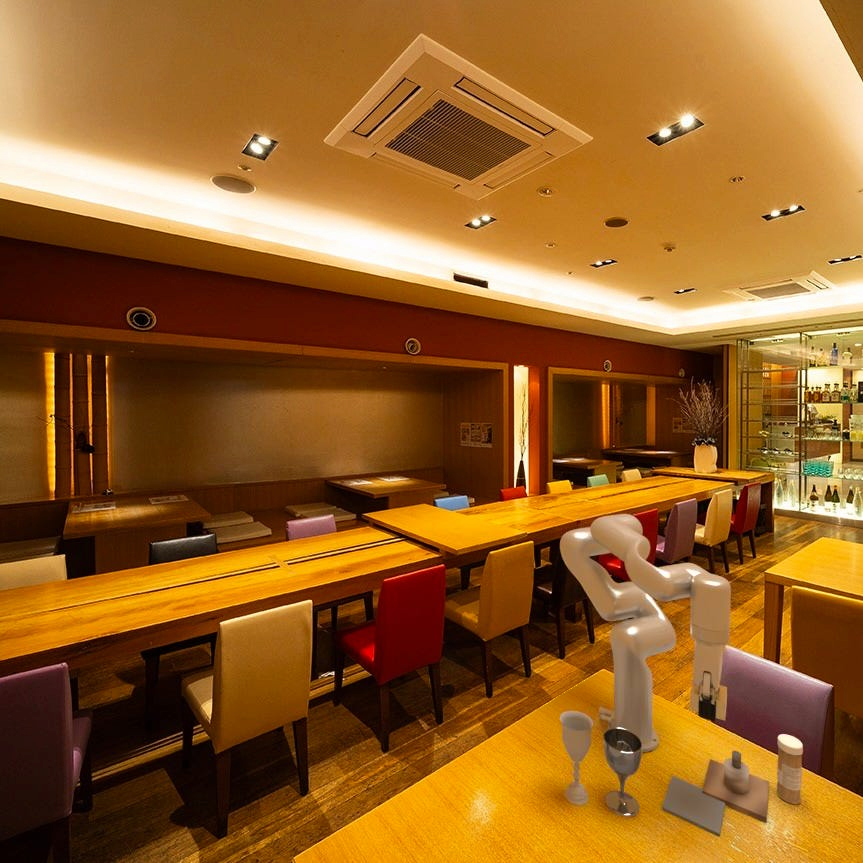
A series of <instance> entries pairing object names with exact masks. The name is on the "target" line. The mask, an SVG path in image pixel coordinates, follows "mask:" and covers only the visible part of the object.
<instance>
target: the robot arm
mask: <svg viewBox="0 0 863 863" xmlns="http://www.w3.org/2000/svg"><path fill="white" fill-rule="evenodd" d="M643 530H644V529H643V526H642V523H641V522H640V520H639V519H638V518H637V517H635V516H634V515H632V514H628V513H619V514H612V515H604V516H601V517H597V518H595V520H593V521H592V523H591V525H590V527H581V528H576V529H575V528H574V529H571V530H568V531H567V532H566V533H563V535H562V536H561V538H560V542H559V550H560V554H561V558H562V560H563V562H564V564H565V566H566V567H567V569H568V570H569V571H570V573H571V574H572V575H573V576H574V577H575V578H576V580H577V581H578V582H579V583H580V585H581V587H582V588H583V590H584V592H585V593H586V595H587V597H588V598H589V600H590V601H591V604H592V605H593V606H594V608H595V610H596V612H598V614H599V616H600V617H601V618H602V619H603V620H605V621H608V622H617V621H620V622H618V623H616V624H615V625H614V626H613V627H612V628H611V630H610V633H609V640H610V645H611V650H612V657H613V688H614V689H613V709H611V710H609V709H607V708H605V707H602V706H599V710H598V714H599V715H600V720H601V721H604V722H608V724H607V729H610V728H623V729H627V730H629V731H631V732H633V733H634V734H636V735H637V736H638V737H639V738H640V740H641V743H642V753H647V752H651V751H654V750H655V749H657V748H658V746H659V744H660V743H659V741H660V739H659V734H658V733H657V730H655V728H654V727H653V696H654V695H653V694H654V693H653V673H652V669H650V666H649V665H648V664H647V662H646V659H647V658H649V657H652V656H655V655H658V654H663V653H666V652H670V651H672V649H674V647H675V646H676V644H677V634H676V631H675V628H674V626H673V625H672V623H671V622H670V620H669V618H668V617H667V616H666V614H665V613H664V611H663V610H662V608H661V607H660V606H659V605H658V603H657V602H656V600H657V601H660V602H671V601H677V600H681V599H685V598H687V599H688V598H690V626H689V628H690V629H689V630H690V633H689V635H690V637H691V638H692V639H693V640H694V646H693V647H694V648H693V651H694V652H693V676H692V677H693V680H692V683H693V684H694V685H695V686H699V685H700V698H699V709H698V712H697V713H698V714H697V716H698V717H699V718H701V719H704V720H708V721H711V722H716V719H717V718H716V703H715V691H718V689H719V685H720V683H721V677H722V672H723V671H722V670H723V655H724V654H723V653H724V647H726V646H729V644H730V642H731V641H730V640H731V639H730V638H731V636H730V635H731V599H732V597H731V594H732V588H731V587H732V586H731V583H730V582H729V581H728V579H727V578H725V577H723V576H719V575H718V574H713V573H710V572H708V571H707V570H705V569H704V568H702V567H701V566H699V565H698V564H695V563H692V562H681V563H677V564H671V565H663V566H659V567H657V566H655V565H653V564H651V562H648V561H647V559H648V557H649V556H650V552H651V544H650V540H649V539H648V538H647V537H646V536H644V535H643ZM606 554H612V555H614V556H615V557H617V558H618V559H619V560H621V561H622V562H624V567H625V571H626V574H627V575H628V577H629V579H630V581H624V582H619V583H618V582H616V581H614V580H613V579H612V577H611V576H610V574H609V572H608V571H607V569H606V568H604V567H603V566H602V565H601V564H599V563H598V562H597V561H595V560H593V559H592V558H590V557H593V556H598V555H606ZM630 618H631V619H630ZM622 620H623V621H622ZM710 685H713V688H711V687H710ZM710 691H712V697H711V695H710Z"/></svg>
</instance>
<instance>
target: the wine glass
mask: <svg viewBox="0 0 863 863" xmlns="http://www.w3.org/2000/svg"><path fill="white" fill-rule="evenodd" d="M603 751H604V756H605V761H606V762H607V765H608V766H609V768H610V769H611V770H612V771H613V773H615V775H616V776H617V777H618V781H619V782H618V783H619V786H620V787H619V788H620V790H611V791H609V792H607V794H606V795H605V804H606V806H607V807H608V809H609V810H610V811H611V812H613V813H614V814H616V815H618V816H620V817H623V818H633V817H636V816H637V815H638V814H639V812H640V803H638V801H637V799H636V798H635V797H634V796H632V795H631V794H629V793H628V792H625V786H626V781H627V780H628V778H629V777H632V776H634V775H635V774H636V773H637V772H638V770H639V768H640V765H641V760H642V755H643V752H642V743H641V740H640V738H639V737H638V736H637V735H636V734H634V733H633V732H631V731H629V730H627V729H623V728H610V729H608V728H607V729H606V730H605V731H604V733H603Z"/></svg>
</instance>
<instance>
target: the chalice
mask: <svg viewBox="0 0 863 863" xmlns="http://www.w3.org/2000/svg"><path fill="white" fill-rule="evenodd" d="M559 720H560V722H561V726H562V728H561V732H562V734H561V737H562V742H563V745H564V748H565V750H566V752H567V754H568V757H569V758H570V759H571V761H573V762H574V763H573V765H572V769H573V773H572V777H573V781H571V782H570V783H569V784H568V786H567V788H566V790H565V792H564V794H565V797H566V799H567V800H568V802H570V803H571V804H573V805H577V806H583V805H586V804H587V802H588V801H589V796H588V794H587V791H586V788H585V786H584V785H583V784H582V783H581V782H579V780H580V779H581V776H582V775H581V774H580V770H581V767H580V764H579V763H581V762H583V761H584V759H585V757H586V756H587V754H588V753H589V750H590V748H591V744H592V743H591V742H592V737H591V736H592V733H591V732H592V728H593V726H594V721H593V719H592V718H591V717H590V716H589V715H587V714H586V713H583V712H581V711H577V710H567V711H564V712H562V713H561V714H560V717H559Z"/></svg>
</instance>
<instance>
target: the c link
mask: <svg viewBox="0 0 863 863" xmlns="http://www.w3.org/2000/svg"><path fill="white" fill-rule="evenodd" d="M710 687H711V688H713V685H710ZM710 695H711V697H712V691H710ZM689 698H690V699H689V710H690V711H692V712H697V713H698V709H699V698H700V685H699V686H695V685H694V684H693V682H692V684H691V688H690V695H689ZM727 700H728V687H727V686H724V685H721V684H719V689H718V691H715V703H716V719H719V720H722V721H726V716H727V706H728V705H727V702H728V701H727Z"/></svg>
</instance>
